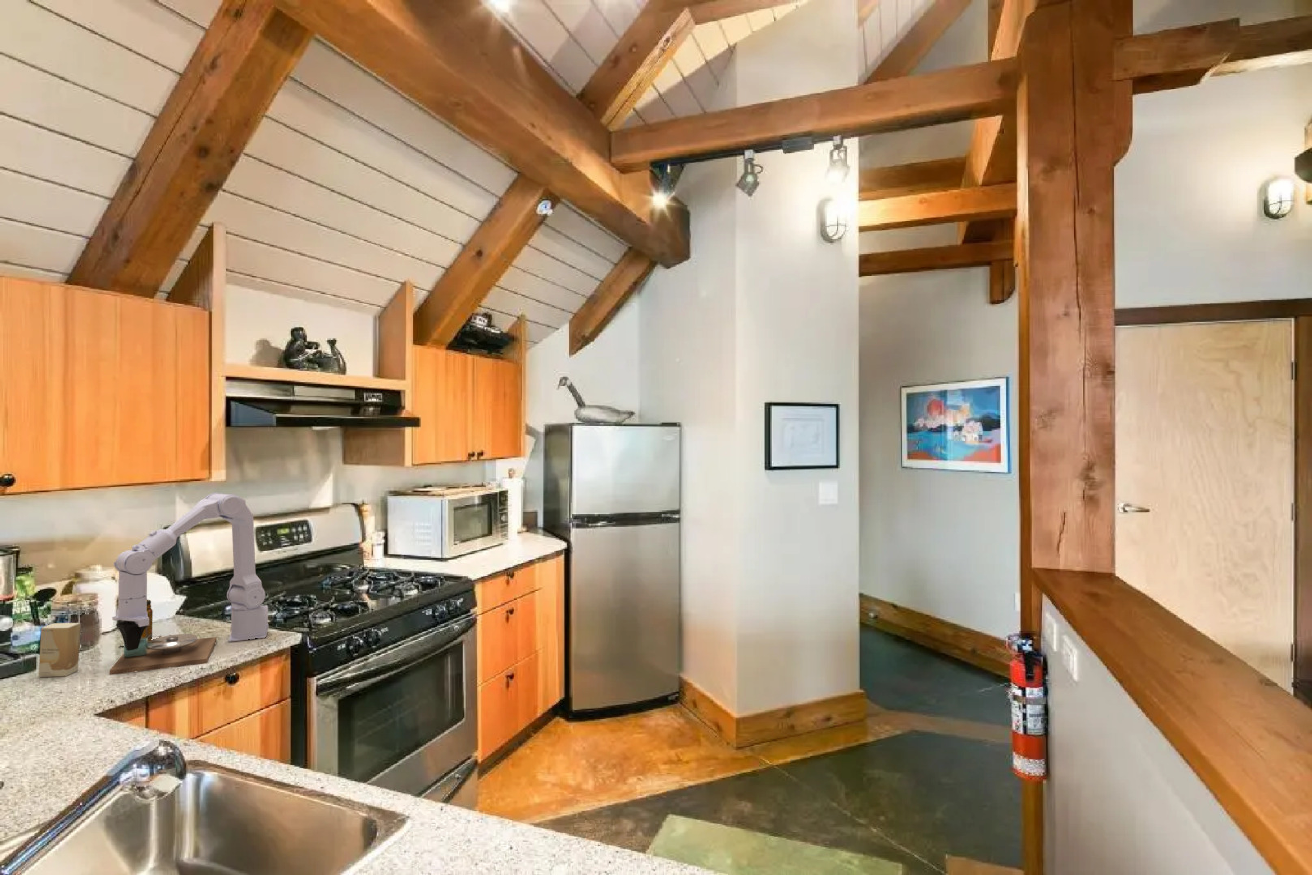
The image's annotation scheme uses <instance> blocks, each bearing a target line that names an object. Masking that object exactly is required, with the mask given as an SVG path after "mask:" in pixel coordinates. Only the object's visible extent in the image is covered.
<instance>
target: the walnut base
mask: <svg viewBox="0 0 1312 875" xmlns="http://www.w3.org/2000/svg"><path fill="white" fill-rule="evenodd" d="M141 638H142V637H141ZM217 638H218V637H217V636H214V637H213V636H212V637H206V638H205V637H204V638H197V641H196V642H195V643H193V644H190V645H187V646H184V647H179V648H174V649H166V650H151V649H147V653H146V655H140V656H131V657H124V653H123V654H122V655H121V656H120V657H119V658H118V660H116V662H115V663H114V664H113V666H112V667H111V668H110V669H109V676H113V675H118V674H127V673H128V674H129V673H135V671H137V672H143V671H144V672H146V671H151V670H159V669H160V668H162V669H168V668H169V667H170V668H177V667H184V666H185V667H186V666H193V665H200V664H202V665H203V664H207V663H208V661H209V659H210V657H211V655H210V654H212V653H213V650H214V648H215V646H214V645H216V644H217ZM215 643H216V644H215ZM213 647H214V648H213ZM160 670H161V669H160Z"/></svg>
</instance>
